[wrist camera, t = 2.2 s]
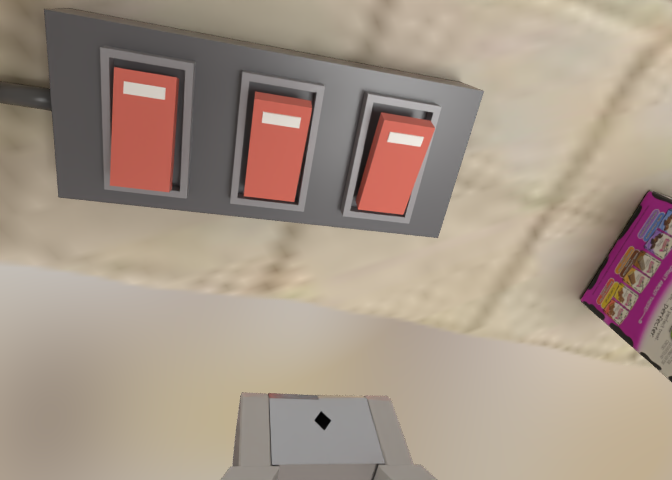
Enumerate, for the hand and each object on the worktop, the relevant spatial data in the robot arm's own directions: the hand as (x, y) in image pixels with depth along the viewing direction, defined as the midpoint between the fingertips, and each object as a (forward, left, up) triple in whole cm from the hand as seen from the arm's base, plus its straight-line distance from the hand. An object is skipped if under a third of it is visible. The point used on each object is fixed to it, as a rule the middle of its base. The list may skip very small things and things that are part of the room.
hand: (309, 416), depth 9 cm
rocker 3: (+7, 0, -19) cm, 20 cm away
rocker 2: (0, 0, -19) cm, 19 cm away
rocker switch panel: (-2, 0, -24) cm, 24 cm away
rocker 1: (-7, 0, -19) cm, 20 cm away
